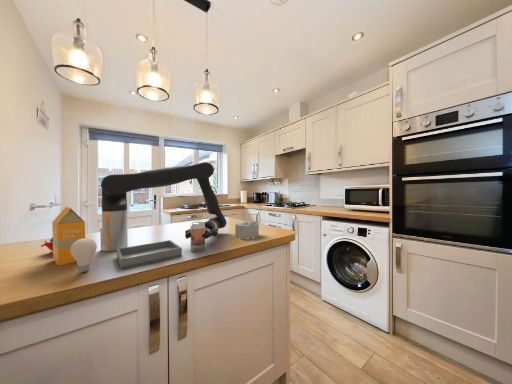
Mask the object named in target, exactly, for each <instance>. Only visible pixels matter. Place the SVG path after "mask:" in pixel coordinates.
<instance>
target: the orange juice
mask: <svg viewBox="0 0 512 384" xmlns="http://www.w3.org/2000/svg"><path fill="white" fill-rule="evenodd" d="M51 225H52V237H53V251H52V252H53V254H52V259H53V260H54V261H55V262H56V263H57V264H56V263H55V262H54V261H53V262H54V263H55V264H56V265H57V266H58V265H59V266H62V265H67V264H72V263H77V262H76V260H75V259H74V257H73V256H72V255H71V253H70V249H71V246H72V244H73V243H74V242H76V241H77V240H79V239H83V238H86V222H85V220H83V219H82V218H81V217H80V216H79V215H78V214H77V213H76V212H75V211H74V210H73V208H72V207H68V206H65V207H64V208H63V209H62V210H61V212H59V214H58V215H57V216H56V217H55V218H54V219H53V220H52V221H51Z"/></svg>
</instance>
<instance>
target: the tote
mask: <svg viewBox="0 0 512 384" xmlns="http://www.w3.org/2000/svg"><path fill="white" fill-rule="evenodd" d="M182 249H183V248H182V247H181V246H180V245H178V244H177V243H175V242H174V241H173V240H171V239H170V240H169V239H168V240H163V241H157V242H150V243H145V244H144V243H143V244H138V245H137V244H136V245H132V246H128V247H125V248H119V249H117V251H116V259H117V262H118V264H119V267H120V270H121V271H122V270H126V269H127V270H128V269H130V268H131V269H132V268H135V267H140V266H144V265H145V266H146V265H148V264H154V263H158V262H163V261H168V260H172V259H177V258H180V257H183V256H182V253H183V251H182Z"/></svg>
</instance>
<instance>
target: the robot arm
mask: <svg viewBox="0 0 512 384" xmlns="http://www.w3.org/2000/svg"><path fill="white" fill-rule="evenodd" d="M214 173H215V168H214V166H213V165H212V163H210V162H208V161H203V162H199V163H195V164H191V165H180V166H179V165H177V166H176V165H175V166H167V167H159V168H153V169H148V170H144V171H141V172H134V173H125V174H124V173H122V174H121V173H120V174H119V173H117V174H115V173H112V174H108V175H106V176H104V177H103V178H102V179H101V182H100V188H101V225H102V226H101V228H100V230H99V232H100V234H99V235H100V237H99V238H100V239H99V240H100V250H101V251H102V252H117V249H119V248H125V247H129V246H128V245H129V244H128V242H129V241H128V237H129V236H128V235H129V234H128V200H127V199H128V198H127V195H128V194H127V193H129V192H132V191H137V190H142V189H153V188H162V187H167V186H173V185H177V184H180V183H183V182H186V181H190V180H197V182H198V185H199V187H200V190H201V193H202V195H203V199H204V202H205V203H204V204H205V205H206V209H207V213H208V214H209V215H216V216H215V217H211V218H208V220H206V221H204V222H205V240H208V238H212V237H213V238H216V237H217V236H218V235H219V229H223V228H226V226H227V219H226V217H225V216H224V214H223V212H222V210H221V209H220V204H219V201H218V198H217V196H216V193H215V191H214V190H213V188H212V185H211V183H210V182H211V181H210V178H211V177H212V176H213V174H214ZM184 232H185V235H184V237H185V239H186V240H187V239H191V232H190V228H189V229H186V230H185V231H184Z"/></svg>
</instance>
